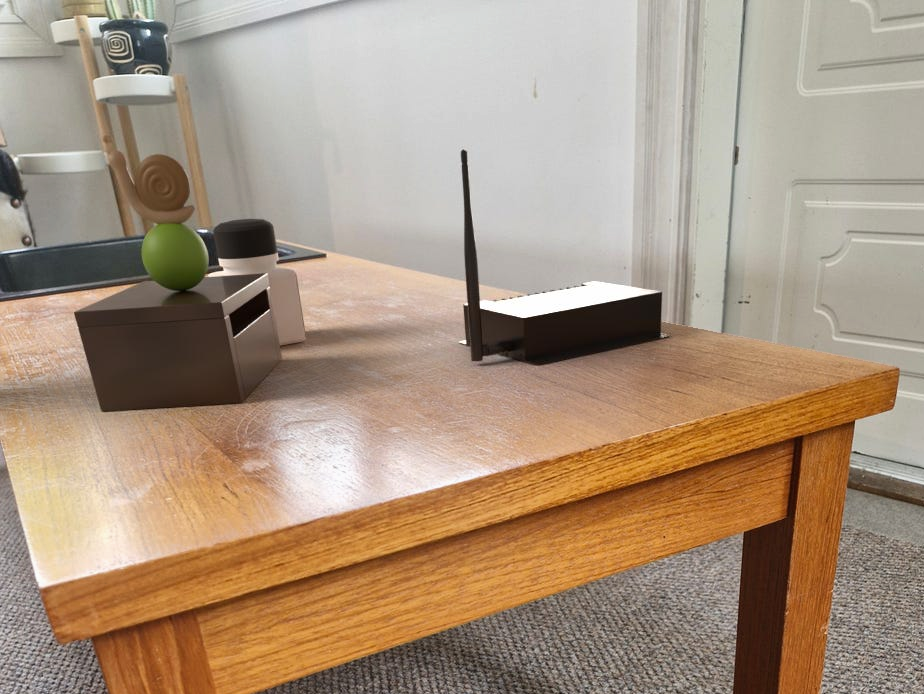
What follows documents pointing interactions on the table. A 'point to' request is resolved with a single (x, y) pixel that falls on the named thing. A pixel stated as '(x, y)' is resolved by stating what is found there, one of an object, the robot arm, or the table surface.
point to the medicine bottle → (262, 270)
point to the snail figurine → (164, 219)
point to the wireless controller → (553, 313)
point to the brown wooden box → (181, 343)
